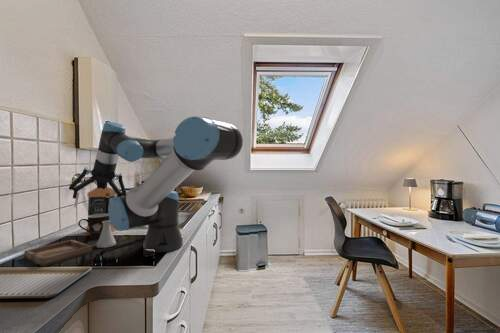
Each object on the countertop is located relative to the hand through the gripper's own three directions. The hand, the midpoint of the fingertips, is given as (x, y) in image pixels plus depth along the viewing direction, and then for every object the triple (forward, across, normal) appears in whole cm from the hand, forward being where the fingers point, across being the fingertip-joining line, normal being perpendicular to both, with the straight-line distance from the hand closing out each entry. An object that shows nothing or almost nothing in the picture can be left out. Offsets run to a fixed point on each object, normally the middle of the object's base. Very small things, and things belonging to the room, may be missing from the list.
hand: (95, 207), depth 103 cm
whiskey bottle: (+21, -6, -13) cm, 25 cm away
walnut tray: (+13, +8, +14) cm, 20 cm away
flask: (+12, -7, +9) cm, 17 cm away
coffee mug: (+18, -3, -5) cm, 19 cm away
